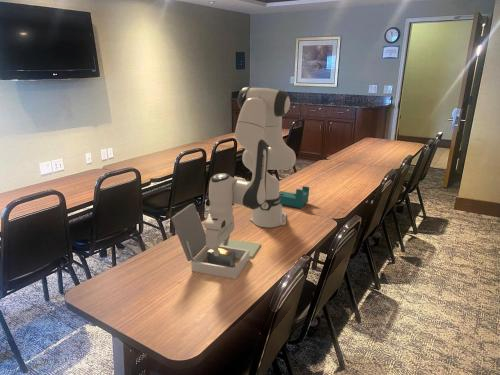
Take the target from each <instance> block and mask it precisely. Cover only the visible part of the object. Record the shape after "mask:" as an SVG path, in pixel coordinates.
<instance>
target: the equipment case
mask: <svg viewBox="0 0 500 375" xmlns="http://www.w3.org/2000/svg"><path fill="white" fill-rule="evenodd" d="M186 244H187V247H188V250H189V253H190V257H191V262H190V263H191V265H190V266H191V272H195V273H200V274H206V275H211V276H217V277H221V278H226V279H233V280H237V278H238V277H239V275H240V273H241V272H242V271H243V269H244V268H245V266H246V265H247V263H248V262H249V260H250V258H249V250H245V249H239V248H233V247H226V246H219V248H221V249H226V250H231V251H235V259H239V260H238V262H237V263H236V264H235V266H234V267H233V268H232V267H226V266H220V265H215V264H209V263H208V262H204V261H205V260H206V259H207V251H209V250H210V249H208V248H207V246H205V247H204V248H203V249H202V250H201V251H200V252H199V253H198V254H197V255H196V256H195V257H194V258H193V256H192V253H191V249H190V246H189V243H188V241H186Z"/></svg>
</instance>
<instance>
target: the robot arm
mask: <svg viewBox="0 0 500 375" xmlns="http://www.w3.org/2000/svg"><path fill="white" fill-rule="evenodd" d="M237 105H238V108H239V110H240V111H239V114H238V119H237V122H236V126H235V130H234V137H235V141H236V142H237V143H238V144H239V146H240V147H241V148H243V149H244V151H243V153H242V155H241V156H242V158H241V159H242V164H243V165H244V166H245V167H246V168H247V169H248V170H249V171H250V172H251V173H252V176H251V179H250V181H249V180H244V179H240V178H235V177H232V176H231V175H230V174H229V173H225V172H223V173H221V172H220V173H216V174H213V176H211V177H210V180H209V184H208V200H209V207H208V208H209V209H208V215H207V218H206V220H205V221H204V223H203V224H204V226H203V228H204V229H205V234H206V246H207V248H208V249H213V251H214V256H219V254H220V251H219V250H218V248H219V246H220V245H221V244H222V242H223V245H226V246H227V245H228V244H229V239H230V236H231V233H233V232H234V231H235V216H234V212H233V210H234V208H233V204H235V205H239V206H243V207H244V208H245V207H246V208H248V209H250V210H252V216H251V217H250V218H249V221H250V222H252V223H253V224H254V226H255V225H256V226H258V227H261V228H267V229H268V228H276V227H280V226H286V224H287V213H286V212H284V211H283V205H282V204H281V203H280V194H279V192H280V185H281V184H280V180H279V179H278V178H277V177H276V176H274V175H272V174H270V173H269V171H270V170H271V171H272V170H273V171H274V170H276V171H280V170H281V171H282V170H289V169H292V168H293V167H294V165H296V162H297V156H296V153H295V151H294V150H293V148H291V147H290V146H288V145H287V143H286V142H285V140H284V137H283V128H282V127H283V117H284V116H286V115H287V113H288V112H289V109H290V106H291V100H290V95H289V94H288V92H286V91H284V90H281V89H280V90H278V89H275V88H269V87H252V86H245V87H243V88H242V89H241V90H239V93H238V95H237ZM268 170H269V171H268ZM206 246H205V247H206Z"/></svg>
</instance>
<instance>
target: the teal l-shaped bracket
mask: <svg viewBox="0 0 500 375" xmlns="http://www.w3.org/2000/svg"><path fill="white" fill-rule="evenodd" d="M295 190H296V192H295V193H294V192H288V191H284V190H283V191H282V190H279V194H280V203H281V205H282V206H288V207H293V208H297V209H302V208H304V207H305V204H307V203H309V196H310V187H309V186H306V185H303V186H302V188H301V189H298V188H296V189H295Z"/></svg>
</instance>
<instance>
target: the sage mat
mask: <svg viewBox="0 0 500 375" xmlns="http://www.w3.org/2000/svg"><path fill="white" fill-rule="evenodd" d="M220 246H226V245H223V242H222V244H221V245H220ZM261 246H262V244H261V243H257V242H250V241H246V240H245V241H244V240H237V239H231V238H229V244H228V245H227V246H226V247H233V248H239V249H245V250H249V259H254V256H255V255H256V253H258V250H259V249H260V247H261Z"/></svg>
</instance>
